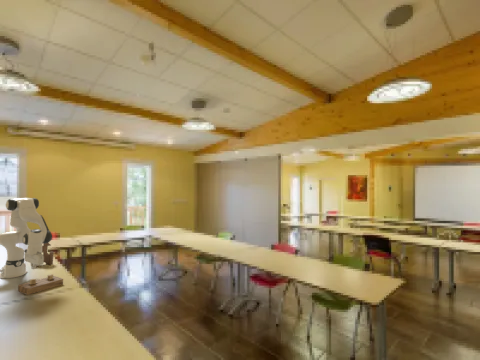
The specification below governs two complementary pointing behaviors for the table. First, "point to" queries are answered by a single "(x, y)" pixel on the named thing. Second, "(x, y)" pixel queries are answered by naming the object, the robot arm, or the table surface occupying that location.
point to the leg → (32, 282)
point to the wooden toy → (47, 257)
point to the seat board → (40, 285)
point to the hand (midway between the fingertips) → (33, 268)
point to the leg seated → (50, 277)
